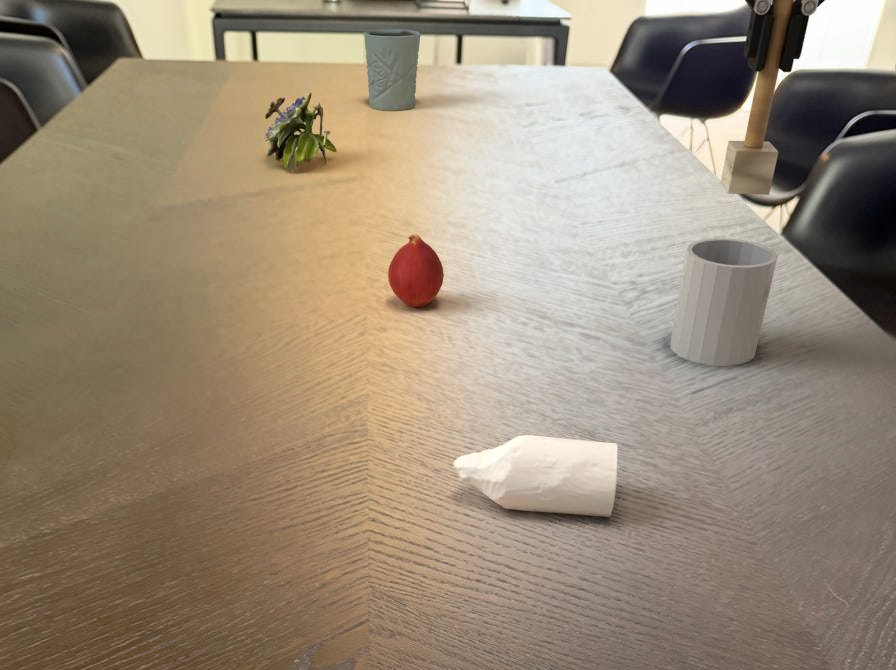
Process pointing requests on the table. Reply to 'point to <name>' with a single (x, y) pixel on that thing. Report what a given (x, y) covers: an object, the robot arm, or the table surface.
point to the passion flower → (287, 142)
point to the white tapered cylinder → (546, 475)
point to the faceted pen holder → (722, 301)
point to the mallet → (758, 121)
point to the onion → (416, 273)
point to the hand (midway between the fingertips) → (769, 67)
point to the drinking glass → (392, 68)
